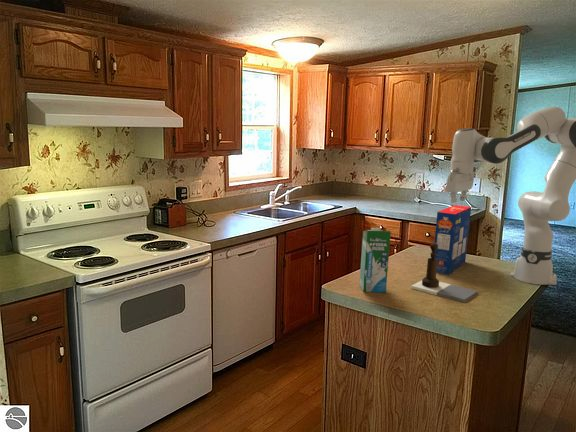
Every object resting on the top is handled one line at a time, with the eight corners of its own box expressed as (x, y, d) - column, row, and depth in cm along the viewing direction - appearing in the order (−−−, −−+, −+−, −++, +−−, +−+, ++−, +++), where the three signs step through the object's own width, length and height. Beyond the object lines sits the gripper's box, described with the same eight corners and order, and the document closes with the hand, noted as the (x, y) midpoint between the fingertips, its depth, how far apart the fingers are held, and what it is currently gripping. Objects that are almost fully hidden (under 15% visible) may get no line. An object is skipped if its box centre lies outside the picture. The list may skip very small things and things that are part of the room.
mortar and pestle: (435, 283, 199) (439, 241, 196) (440, 288, 192) (445, 245, 189) (419, 282, 199) (423, 240, 195) (424, 287, 192) (428, 244, 189)
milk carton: (381, 285, 197) (385, 226, 193) (385, 292, 188) (390, 231, 184) (359, 284, 197) (363, 225, 192) (363, 292, 188) (367, 230, 183)
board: (425, 280, 205) (426, 278, 205) (477, 293, 191) (477, 291, 191) (410, 288, 195) (411, 285, 194) (464, 302, 181) (464, 299, 180)
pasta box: (449, 259, 242) (454, 205, 237) (465, 262, 238) (471, 207, 233) (431, 271, 220) (437, 211, 214) (449, 275, 215) (455, 214, 210)
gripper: (459, 170, 186) (455, 205, 188) (477, 168, 201) (474, 200, 204) (443, 168, 190) (440, 203, 192) (463, 166, 205) (459, 198, 208)
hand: (458, 201), depth 198 cm, fingers open, 8 cm apart
